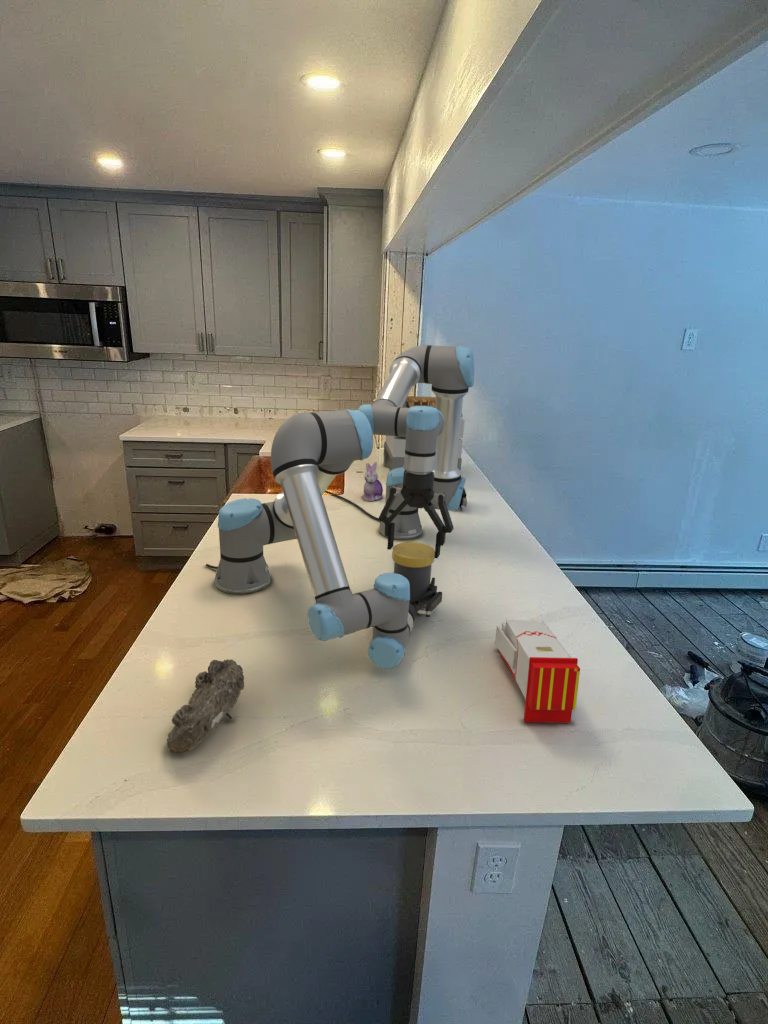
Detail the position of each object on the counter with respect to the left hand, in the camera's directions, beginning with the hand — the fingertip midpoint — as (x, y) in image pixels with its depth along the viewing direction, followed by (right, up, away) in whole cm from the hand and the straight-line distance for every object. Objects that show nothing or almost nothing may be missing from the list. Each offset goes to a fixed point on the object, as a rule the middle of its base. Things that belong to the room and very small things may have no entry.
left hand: (414, 579), depth 153 cm
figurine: (-13, +24, +83) cm, 87 cm away
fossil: (-41, -21, -45) cm, 65 cm away
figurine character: (+21, +20, +77) cm, 83 cm away
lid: (-1, +8, -7) cm, 11 cm away
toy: (+23, -18, -30) cm, 42 cm away
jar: (-1, -7, -2) cm, 7 cm away
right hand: (-1, +8, -8) cm, 11 cm away
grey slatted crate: (+9, +37, +121) cm, 127 cm away
